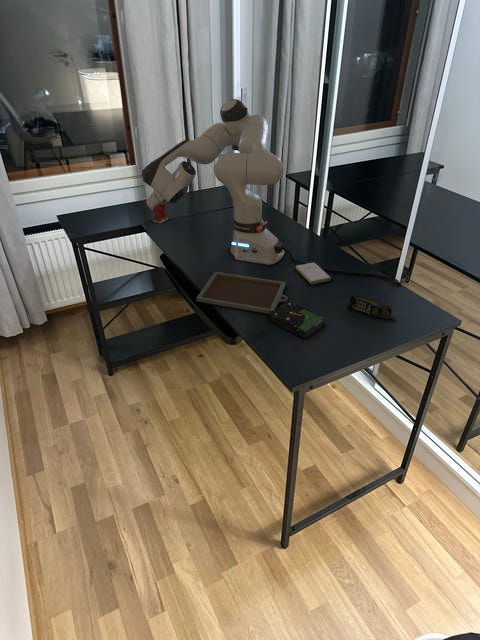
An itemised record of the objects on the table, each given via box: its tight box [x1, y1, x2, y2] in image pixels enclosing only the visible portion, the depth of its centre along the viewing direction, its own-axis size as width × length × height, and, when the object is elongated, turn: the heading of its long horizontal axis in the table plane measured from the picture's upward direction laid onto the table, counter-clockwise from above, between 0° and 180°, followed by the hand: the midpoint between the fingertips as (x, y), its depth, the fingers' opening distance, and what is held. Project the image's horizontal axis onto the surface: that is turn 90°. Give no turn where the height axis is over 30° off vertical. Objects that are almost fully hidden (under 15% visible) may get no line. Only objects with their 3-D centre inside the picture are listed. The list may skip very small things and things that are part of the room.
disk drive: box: [268, 300, 325, 339], centre depth 138 cm, size 10×3×15 cm
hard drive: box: [295, 262, 332, 285], centre depth 163 cm, size 2×8×12 cm
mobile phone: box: [349, 294, 395, 321], centre depth 141 cm, size 5×3×15 cm
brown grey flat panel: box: [195, 271, 289, 315], centre depth 152 cm, size 19×2×30 cm
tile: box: [152, 217, 169, 224], centre depth 205 cm, size 5×6×1 cm
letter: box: [153, 203, 167, 222], centre depth 202 cm, size 3×5×10 cm, turn 143°
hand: (159, 205), depth 200 cm, fingers open, 8 cm apart
